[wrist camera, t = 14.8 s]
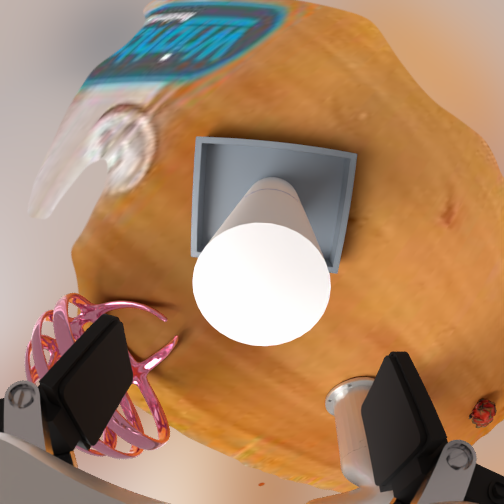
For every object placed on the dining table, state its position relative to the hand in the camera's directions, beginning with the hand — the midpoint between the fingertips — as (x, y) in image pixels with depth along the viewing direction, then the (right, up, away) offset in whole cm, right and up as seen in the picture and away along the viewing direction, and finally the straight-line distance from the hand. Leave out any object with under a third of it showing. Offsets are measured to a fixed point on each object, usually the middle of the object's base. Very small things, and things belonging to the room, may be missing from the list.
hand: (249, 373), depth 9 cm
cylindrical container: (+3, +11, +29) cm, 31 cm away
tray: (+3, +11, +30) cm, 32 cm away
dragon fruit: (+66, -40, +42) cm, 88 cm away
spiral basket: (-23, -11, +41) cm, 48 cm away
